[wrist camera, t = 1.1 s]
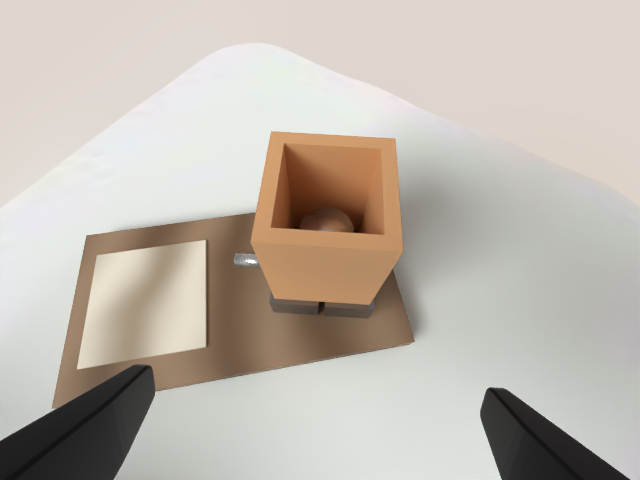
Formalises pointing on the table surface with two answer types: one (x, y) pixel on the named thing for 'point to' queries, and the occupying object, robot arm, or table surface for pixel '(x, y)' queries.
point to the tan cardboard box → (328, 191)
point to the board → (199, 311)
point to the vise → (315, 221)
